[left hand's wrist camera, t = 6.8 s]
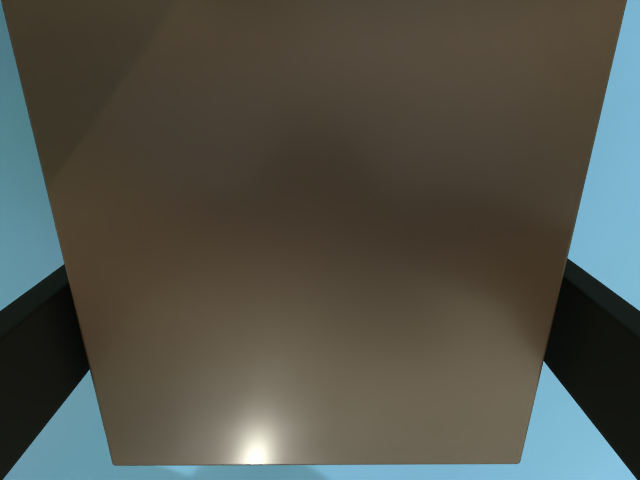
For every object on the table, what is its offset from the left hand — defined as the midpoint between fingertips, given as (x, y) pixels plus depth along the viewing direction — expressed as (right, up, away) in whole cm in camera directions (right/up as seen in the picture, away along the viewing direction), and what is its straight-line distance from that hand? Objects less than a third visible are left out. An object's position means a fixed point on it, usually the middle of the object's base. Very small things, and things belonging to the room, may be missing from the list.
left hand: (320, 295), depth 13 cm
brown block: (0, +6, +3) cm, 7 cm away
